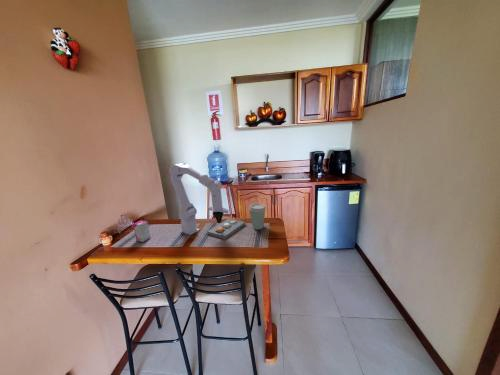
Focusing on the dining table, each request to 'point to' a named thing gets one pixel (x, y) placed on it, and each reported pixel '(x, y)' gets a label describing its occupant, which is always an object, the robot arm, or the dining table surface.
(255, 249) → the dining table surface
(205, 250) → the dining table surface
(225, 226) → the ivory button
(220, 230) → the terracotta button
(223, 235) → the button panel
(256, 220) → the disposable coffee cup
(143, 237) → the supplement box
